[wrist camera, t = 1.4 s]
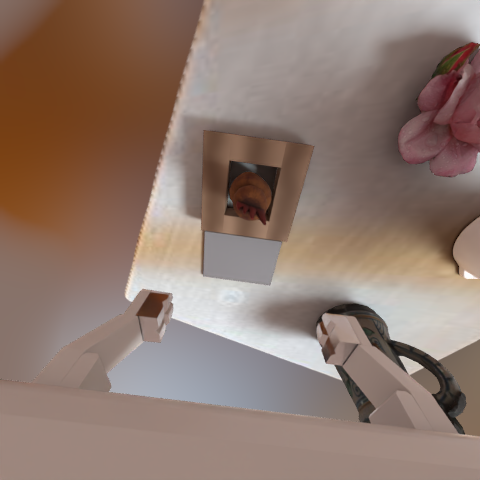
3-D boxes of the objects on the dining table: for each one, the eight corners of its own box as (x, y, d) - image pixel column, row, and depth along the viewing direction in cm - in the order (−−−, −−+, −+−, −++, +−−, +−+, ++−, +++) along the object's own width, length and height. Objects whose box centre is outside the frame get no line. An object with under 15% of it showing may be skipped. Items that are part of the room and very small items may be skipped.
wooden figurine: (275, 187, 34) (289, 219, 21) (254, 210, 36) (254, 252, 23) (247, 161, 32) (243, 179, 19) (226, 187, 35) (210, 218, 22)
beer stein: (305, 336, 54) (340, 473, 32) (336, 288, 45) (415, 433, 23) (359, 347, 55) (429, 487, 33) (401, 301, 46) (537, 455, 24)
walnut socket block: (307, 144, 30) (314, 146, 27) (283, 232, 38) (286, 241, 35) (209, 130, 30) (203, 130, 27) (205, 221, 38) (201, 229, 35)
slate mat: (281, 240, 39) (281, 241, 39) (270, 283, 45) (270, 285, 45) (205, 229, 39) (204, 231, 39) (203, 274, 45) (203, 276, 45)
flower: (459, 189, 30) (555, 182, 20) (368, 159, 30) (420, 138, 20) (518, 86, 27) (667, 18, 17) (417, 54, 27) (505, -29, 17)
